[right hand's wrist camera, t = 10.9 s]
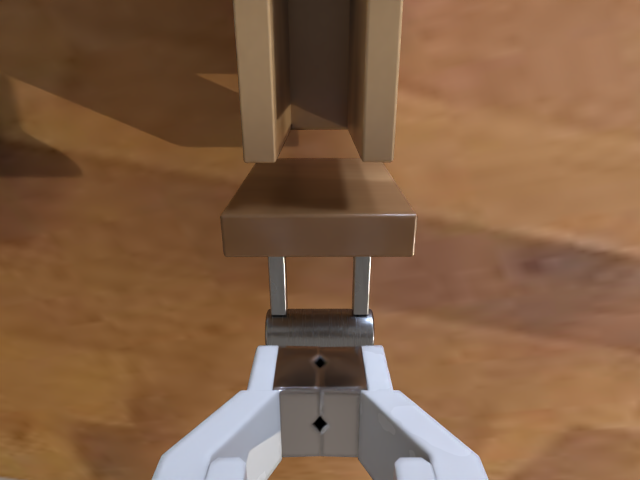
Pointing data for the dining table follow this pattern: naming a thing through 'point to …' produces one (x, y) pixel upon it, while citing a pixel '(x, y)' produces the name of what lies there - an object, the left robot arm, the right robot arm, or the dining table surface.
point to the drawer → (318, 173)
